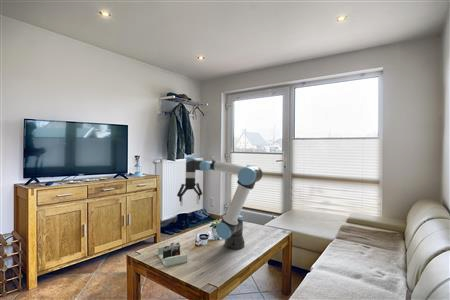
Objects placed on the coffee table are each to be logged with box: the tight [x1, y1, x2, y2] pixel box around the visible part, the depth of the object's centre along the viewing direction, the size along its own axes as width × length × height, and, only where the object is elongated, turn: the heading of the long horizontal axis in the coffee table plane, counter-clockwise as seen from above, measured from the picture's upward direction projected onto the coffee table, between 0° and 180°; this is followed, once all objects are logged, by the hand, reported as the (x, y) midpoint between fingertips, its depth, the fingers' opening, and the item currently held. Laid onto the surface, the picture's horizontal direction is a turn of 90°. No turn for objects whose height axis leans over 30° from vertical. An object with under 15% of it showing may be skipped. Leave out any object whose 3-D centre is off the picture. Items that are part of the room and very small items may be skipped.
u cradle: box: [157, 244, 188, 268], centre depth 157 cm, size 14×18×5 cm
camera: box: [163, 242, 181, 259], centre depth 158 cm, size 13×8×9 cm, turn 140°
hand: (189, 204), depth 185 cm, fingers open, 13 cm apart
